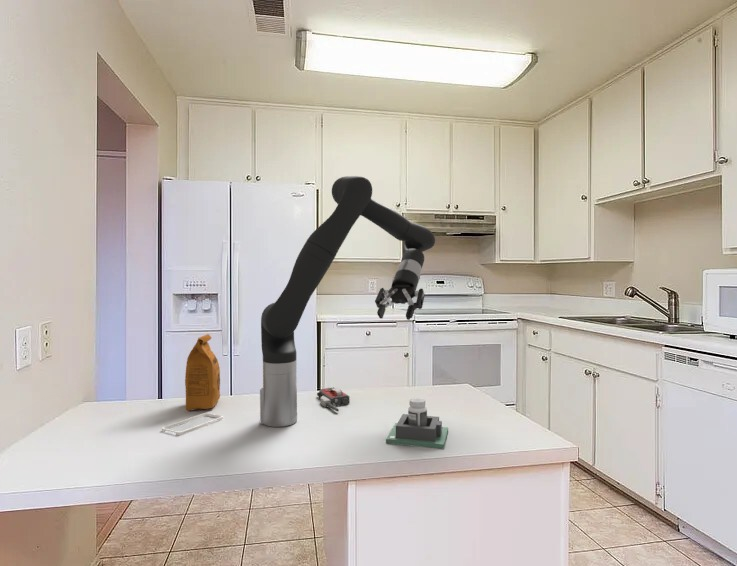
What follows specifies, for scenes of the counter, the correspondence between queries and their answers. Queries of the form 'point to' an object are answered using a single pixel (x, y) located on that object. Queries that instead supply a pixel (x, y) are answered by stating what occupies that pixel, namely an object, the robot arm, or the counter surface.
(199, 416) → the phone case
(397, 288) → the robot arm
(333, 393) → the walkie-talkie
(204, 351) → the coffee package
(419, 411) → the pill bottle
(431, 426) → the socket board
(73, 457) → the counter surface
